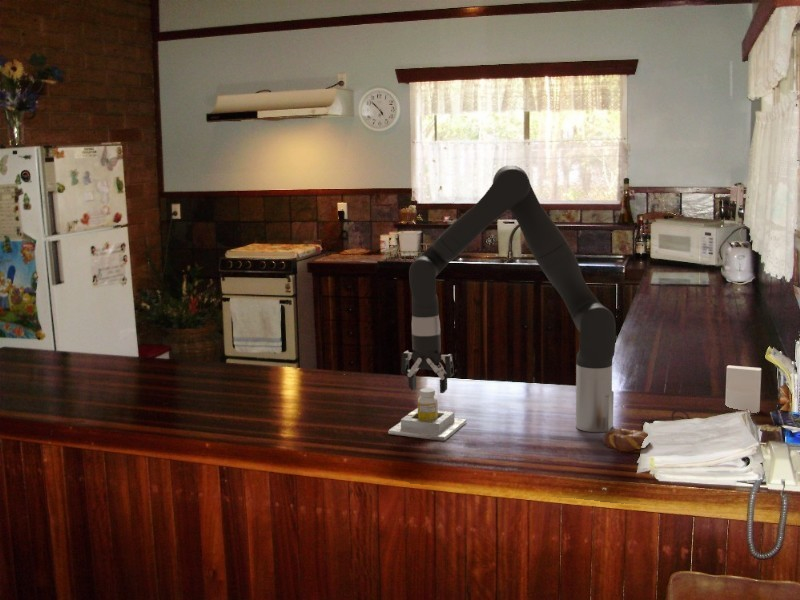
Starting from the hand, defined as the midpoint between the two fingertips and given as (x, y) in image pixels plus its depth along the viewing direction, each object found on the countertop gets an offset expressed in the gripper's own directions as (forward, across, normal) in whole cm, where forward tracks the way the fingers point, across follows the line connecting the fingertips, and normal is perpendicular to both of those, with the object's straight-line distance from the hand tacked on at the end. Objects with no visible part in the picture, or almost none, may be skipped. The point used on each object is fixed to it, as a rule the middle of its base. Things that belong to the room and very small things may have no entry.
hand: (428, 391), depth 239 cm
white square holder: (+10, 0, 0) cm, 10 cm away
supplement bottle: (+10, 0, 0) cm, 10 cm away
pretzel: (+12, +51, +6) cm, 53 cm away
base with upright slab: (+12, +76, +46) cm, 89 cm away
